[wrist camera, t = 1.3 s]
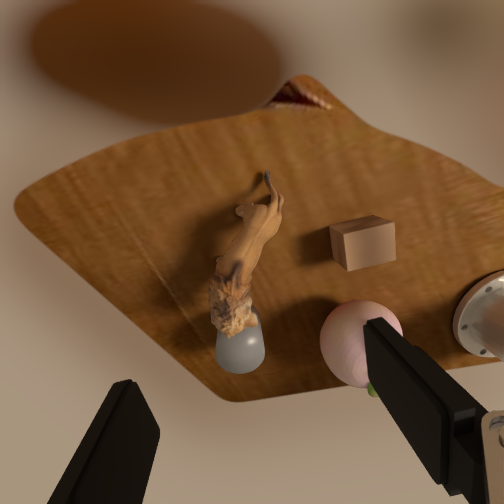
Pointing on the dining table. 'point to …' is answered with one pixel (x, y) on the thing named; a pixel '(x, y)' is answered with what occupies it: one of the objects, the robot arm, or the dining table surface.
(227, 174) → the dining table surface
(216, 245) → the dining table surface
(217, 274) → the lion figurine
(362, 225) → the pale beige block
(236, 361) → the light grey cylinder
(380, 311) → the decorative fruit
